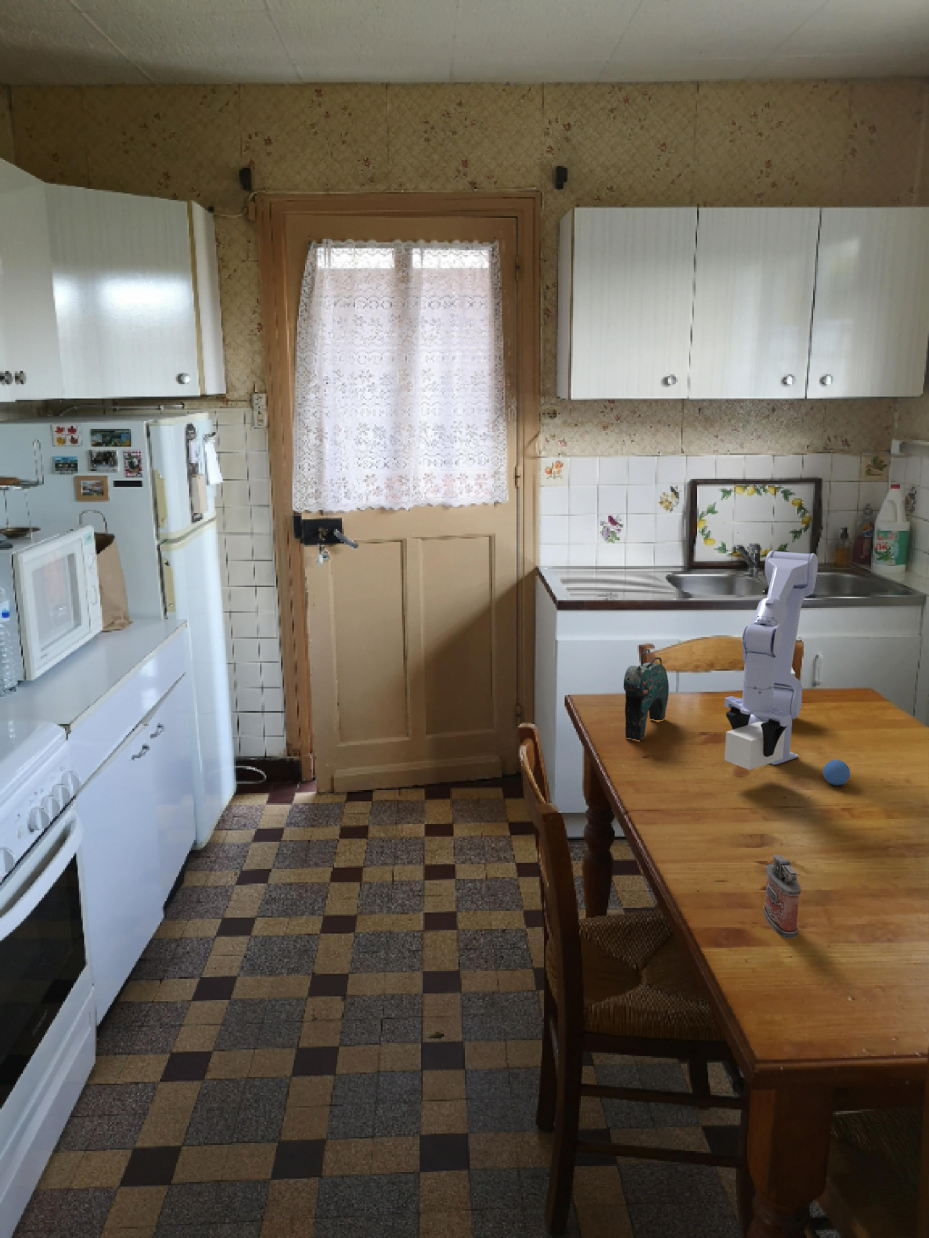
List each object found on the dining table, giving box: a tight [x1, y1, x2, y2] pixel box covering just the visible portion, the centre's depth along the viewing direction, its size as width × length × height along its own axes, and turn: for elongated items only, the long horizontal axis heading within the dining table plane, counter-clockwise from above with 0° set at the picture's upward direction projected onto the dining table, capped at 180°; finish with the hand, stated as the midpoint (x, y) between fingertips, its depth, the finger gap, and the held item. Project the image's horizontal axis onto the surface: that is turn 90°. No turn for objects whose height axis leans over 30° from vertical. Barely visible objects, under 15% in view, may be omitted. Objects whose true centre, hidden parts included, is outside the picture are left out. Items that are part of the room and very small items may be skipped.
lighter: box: [762, 854, 802, 939], centre depth 139 cm, size 8×3×10 cm, turn 5°
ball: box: [822, 759, 851, 786], centre depth 189 cm, size 5×5×5 cm
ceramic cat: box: [623, 648, 670, 741], centre depth 219 cm, size 20×6×20 cm, turn 148°
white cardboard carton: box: [724, 722, 785, 771], centre depth 188 cm, size 10×6×6 cm, turn 124°
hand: (754, 750), depth 189 cm, fingers closed on white cardboard carton, 6 cm apart
